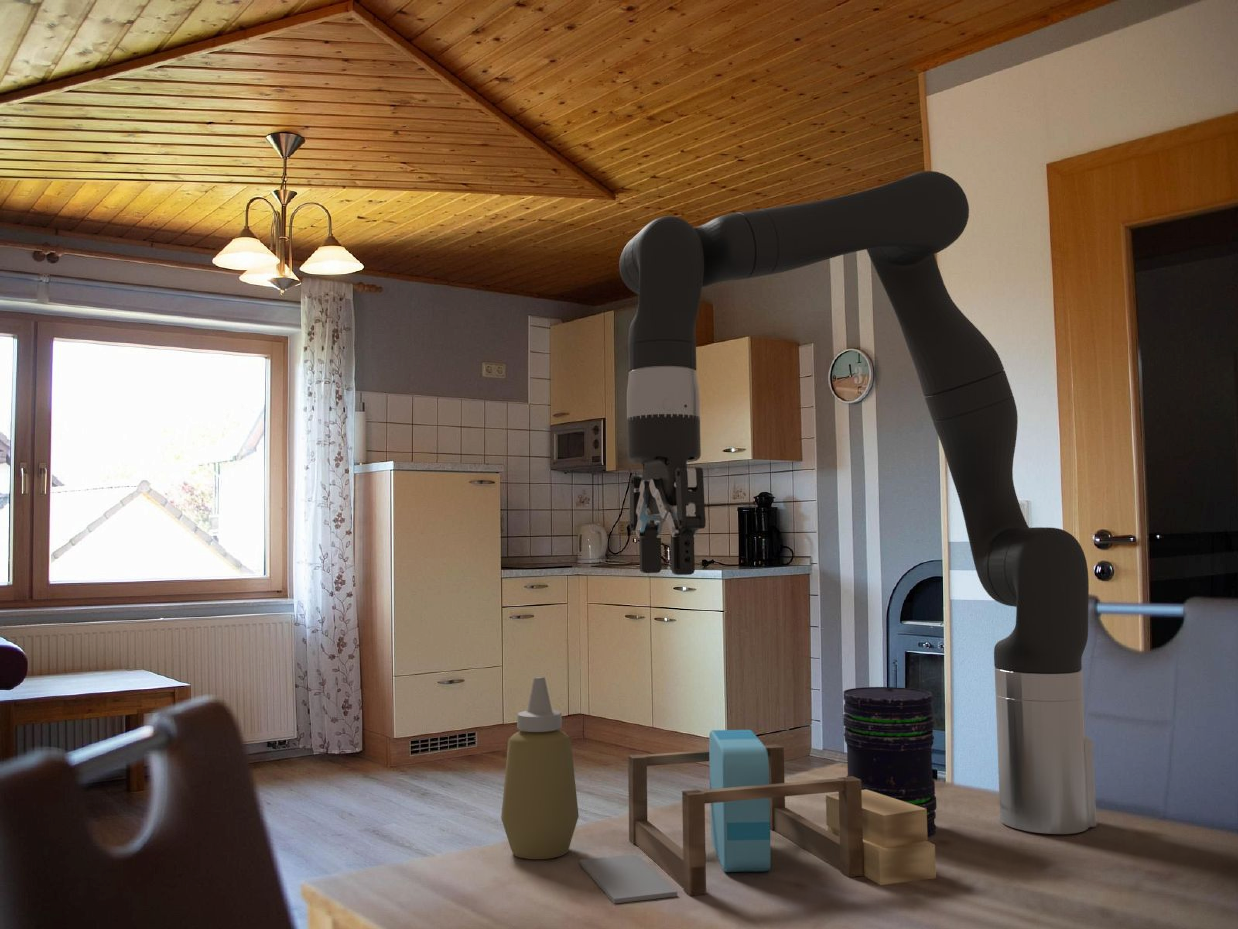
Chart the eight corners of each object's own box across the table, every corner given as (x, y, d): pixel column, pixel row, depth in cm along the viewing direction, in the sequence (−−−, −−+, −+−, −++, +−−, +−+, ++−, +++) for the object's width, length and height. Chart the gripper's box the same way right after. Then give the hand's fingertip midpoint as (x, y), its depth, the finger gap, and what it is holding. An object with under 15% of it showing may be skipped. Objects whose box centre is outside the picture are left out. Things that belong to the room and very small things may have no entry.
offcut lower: (880, 852, 108) (879, 818, 108) (936, 882, 98) (934, 845, 98) (828, 858, 106) (827, 823, 106) (880, 889, 96) (879, 851, 97)
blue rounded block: (771, 876, 99) (768, 749, 100) (724, 877, 99) (722, 750, 100) (752, 840, 111) (750, 727, 112) (710, 841, 111) (708, 727, 112)
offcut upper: (867, 818, 108) (866, 789, 108) (927, 840, 100) (926, 809, 100) (826, 825, 106) (825, 795, 106) (885, 848, 98) (884, 815, 98)
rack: (779, 825, 117) (777, 744, 118) (863, 875, 99) (861, 780, 100) (629, 840, 112) (628, 755, 112) (689, 896, 94) (688, 794, 95)
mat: (637, 858, 105) (637, 854, 105) (677, 896, 94) (677, 891, 94) (580, 864, 104) (580, 859, 104) (614, 903, 92) (613, 899, 92)
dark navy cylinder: (935, 845, 109) (931, 701, 110) (841, 837, 112) (837, 697, 113) (938, 821, 118) (934, 688, 119) (851, 814, 121) (847, 685, 122)
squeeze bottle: (590, 845, 110) (588, 674, 111) (561, 868, 102) (560, 684, 104) (520, 839, 113) (520, 672, 114) (487, 860, 105) (487, 681, 106)
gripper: (726, 408, 101) (730, 574, 100) (670, 424, 114) (672, 571, 113) (655, 405, 98) (658, 576, 97) (606, 422, 112) (608, 573, 111)
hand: (666, 573), depth 105 cm, fingers open, 8 cm apart
